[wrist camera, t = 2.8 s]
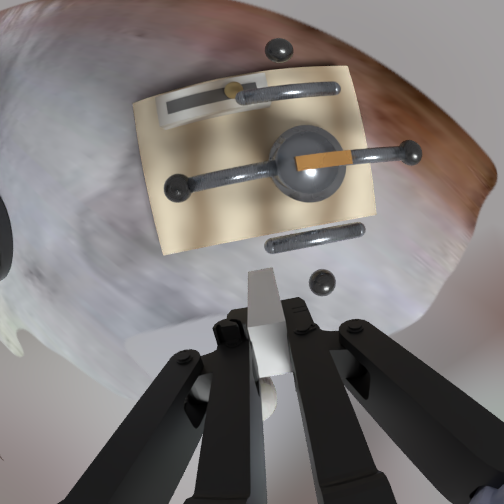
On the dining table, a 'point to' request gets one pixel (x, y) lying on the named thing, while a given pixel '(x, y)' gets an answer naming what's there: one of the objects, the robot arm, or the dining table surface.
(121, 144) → the dining table surface
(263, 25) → the dining table surface
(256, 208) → the stand
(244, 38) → the dining table surface
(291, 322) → the robot arm
